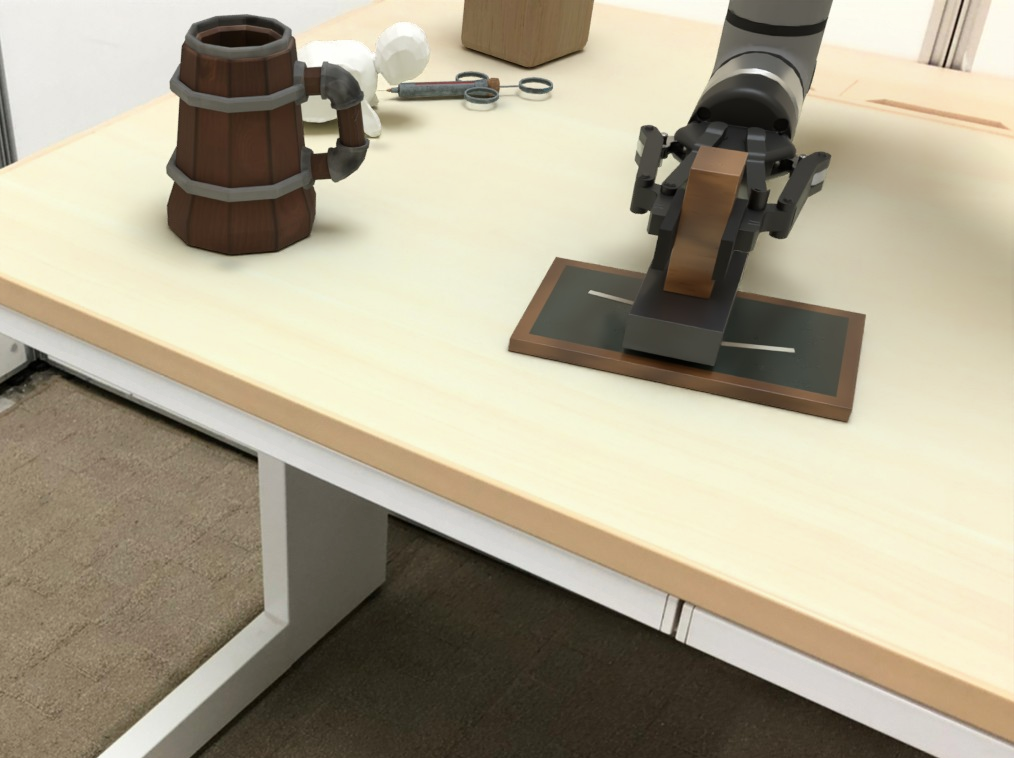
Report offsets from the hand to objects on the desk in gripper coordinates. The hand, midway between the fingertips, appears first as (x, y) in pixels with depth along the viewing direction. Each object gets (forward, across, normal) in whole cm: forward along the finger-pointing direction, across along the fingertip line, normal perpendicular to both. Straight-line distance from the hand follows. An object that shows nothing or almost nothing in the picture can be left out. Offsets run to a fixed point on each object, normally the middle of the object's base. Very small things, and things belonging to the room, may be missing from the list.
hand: (691, 255), depth 77 cm
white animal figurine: (-33, +35, -9) cm, 49 cm away
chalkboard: (-5, -1, -9) cm, 10 cm away
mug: (-10, +33, -9) cm, 36 cm away
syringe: (-43, +27, -9) cm, 52 cm away
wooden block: (-59, +26, -9) cm, 65 cm away
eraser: (-5, 0, -7) cm, 9 cm away
